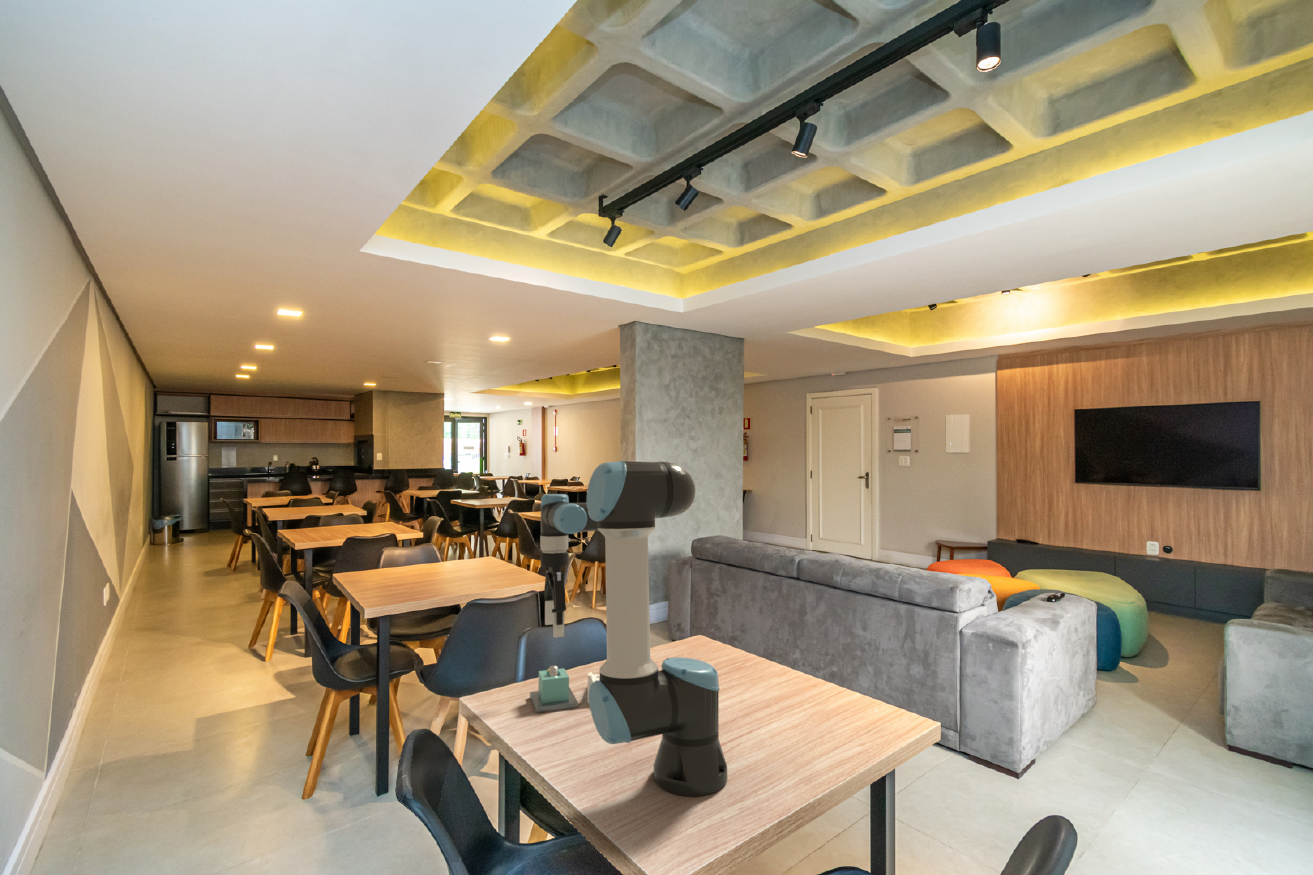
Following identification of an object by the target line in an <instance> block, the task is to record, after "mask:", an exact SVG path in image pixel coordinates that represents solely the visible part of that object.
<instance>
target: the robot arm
mask: <svg viewBox="0 0 1313 875" xmlns="http://www.w3.org/2000/svg"><path fill="white" fill-rule="evenodd" d="M588 482H589V483H588V486H587V492H586V502H570V501H569V500H570V499H569V495H567V494H563V493H558V494H557V493H552V494H551V493H548V494H546V493H545V494H543V495H542V496H541V498H540V499H541V500H540V506H539V507H540V508H539V509H540V537H539V538H540V539H539V540H540V548H539V549H540V550H541V551H542V552H541V553H540V561H539V562H540V564H539V565H540V566H541V567H543V568H545V579H544V580H545V581H544V588H543V589H544V591H543V596H544V625H545V626H549V625H550V626H551V625H552V627H553V628H552V629H553V630H552V631H553V632H552V633H553V634H552V635H553V636H552V637H553V638H563V637H565V612H566V611H567V605H566V593H565V592H566V591H565V581H564V580H565V578H564V576H565V574H564V572H562V570H561V568H562V567H567V566H568V565H569V552H568V550H569V542H571V538H569V534H571V535H574V534H577V533H578V534H579V533H584V532H597V531H598V532H599V533H600V534H601V535H603V537H604V539H605V540H604V541H605V544H604V545H605V546H604V548H605V608H606V610H605V611H606V612H605V613H606V617H605V618H606V624H605V625H606V660H605V662H604V663H603V664H601V666H600V667H599V670H598V671H599V674H600V679H599V681H598V680H596V681H595V682H593V683H592V684H591V685H590V689H589V703H588V704H589V709H590V714H591V717H592V718H591V719H592V720H593V721H592V722H593V723H594V727H595V728H596V732H597V733H598V735H599V736H600V737H601V739H602V740H603V741H604V742H605V743H607V744H608V745H617V744H618V745H619V744H624V743H626V744H630V743H631V742H634V741H639V740H643V739H647V738H652V737H655V736H660V735H662V736H661V740H660V743H659V747H658V750H657V753H656V756H655V759H654V763H653V780H654V783H656V785H658V787H660V788H661V789H662V790H664V791H666V792H668V793H671V794H674V795H678V796H685V797H700V796H707V795H711V794H713V793H716V792H718V791H720V790H721V789H722V788H724V787H725V786H726V784H727V782H728V765H727V762H726V759H725V755H724V751H723V749H722V745H721V742H720V738H719V735H720V734H719V733H720V732H719V725H720V724H719V714H720V712H719V710H720V708H719V706H720V705H719V703H720V702H719V697H720V696H719V691H720V684H719V675H718V671H717V669H716V668H715V667H714V666H713V665H712V664H710V663H707V662H706V661H703V660H699V659H697V658H696V659H695V658H691V657H690V658H689V657H676V656H675V657H673V656H672V657H668V658H667V657H666V659H664V660H662V664H661V665H660V666H661V670H660V669H659V666H658V664H657V663H656V662H655V661H654V660H653V659H652V658H651V631H650V630H651V627H650V626H651V624H650V623H651V622H650V580H649V579H650V578H649V577H650V576H649V574H650V573H649V572H650V571H649V568H650V567H649V535H651V533H652V532H653V531H655V529H656V519H661V518H670V517H671V518H672V517H675V516H679V515H681V514H683V513H685V512H687V510H689V508H690V507H692V504H693V503H694V500H695V496H696V486H695V485H696V484H695V481H694V480H693V478H692V476H691V475H690V473H689V472H688V471H687V470H686V469H685V468H683V467H682V466H680V465H678V464H677V463H674V462H668V461H623V460H622V461H621V460H619V461H608V462H606V461H605V462H603V463H600V464H599V465H598V466H597V467H596V468H595V469H594V471H593V472H592V475H591V477H590V478H589V481H588Z"/></svg>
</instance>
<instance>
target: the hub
mask: <svg viewBox="0 0 1313 875" xmlns="http://www.w3.org/2000/svg"><path fill="white" fill-rule="evenodd" d="M569 687H570V676H569V673H568V672H567V671H566V669H565V668H558V676H553V677H549V668H548V669H546V670H538V691H539V696H540V698H541V701H542V703H549V702H556V701H564V700H569Z"/></svg>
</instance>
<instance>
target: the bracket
mask: <svg viewBox="0 0 1313 875" xmlns="http://www.w3.org/2000/svg"><path fill="white" fill-rule="evenodd" d="M599 679H600V673H598V674H597V673H594V674H593V672H590V671H589V672H588V674H587V704H589V689H590V685H591V684H592V683H593V682H595V681H596V680H598V681H599Z"/></svg>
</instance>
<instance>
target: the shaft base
mask: <svg viewBox="0 0 1313 875" xmlns="http://www.w3.org/2000/svg"><path fill="white" fill-rule="evenodd" d="M548 669H549V677H553V676H558V669H559V666H558V665H555V664H554V665H550V666H549V668H548ZM529 698H530V699H529V700H530V701H531V704H532V707H533V710H534V712H535V714H539V713H548V712H554V711H555V712H557V711H565V710H570V709H578V707H579V704H578V702H579V701H578V699H577V698H576V696H575V695H574V692H573V691H572V689H571V687H570V686H569V700H564V701H556V702H549V703H542V701H541V698H540V696H539V690H538V691H537V690H536V691H530V692H529Z"/></svg>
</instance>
